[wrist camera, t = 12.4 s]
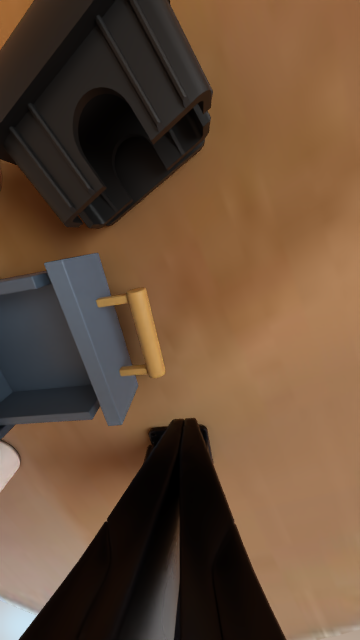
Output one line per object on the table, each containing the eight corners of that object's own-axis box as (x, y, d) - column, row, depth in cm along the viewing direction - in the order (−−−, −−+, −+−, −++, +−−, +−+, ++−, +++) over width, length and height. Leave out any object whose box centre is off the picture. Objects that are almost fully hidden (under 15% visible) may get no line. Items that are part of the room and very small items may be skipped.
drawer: (144, 243, 16) (122, 247, 12) (175, 382, 20) (168, 422, 16) (-44, 279, 19) (-119, 294, 14) (20, 395, 23) (-22, 433, 19)
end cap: (148, 11, 12) (90, -229, 6) (214, 138, 14) (225, 59, 8) (37, 142, 15) (-83, 75, 9) (104, 232, 17) (45, 232, 10)
